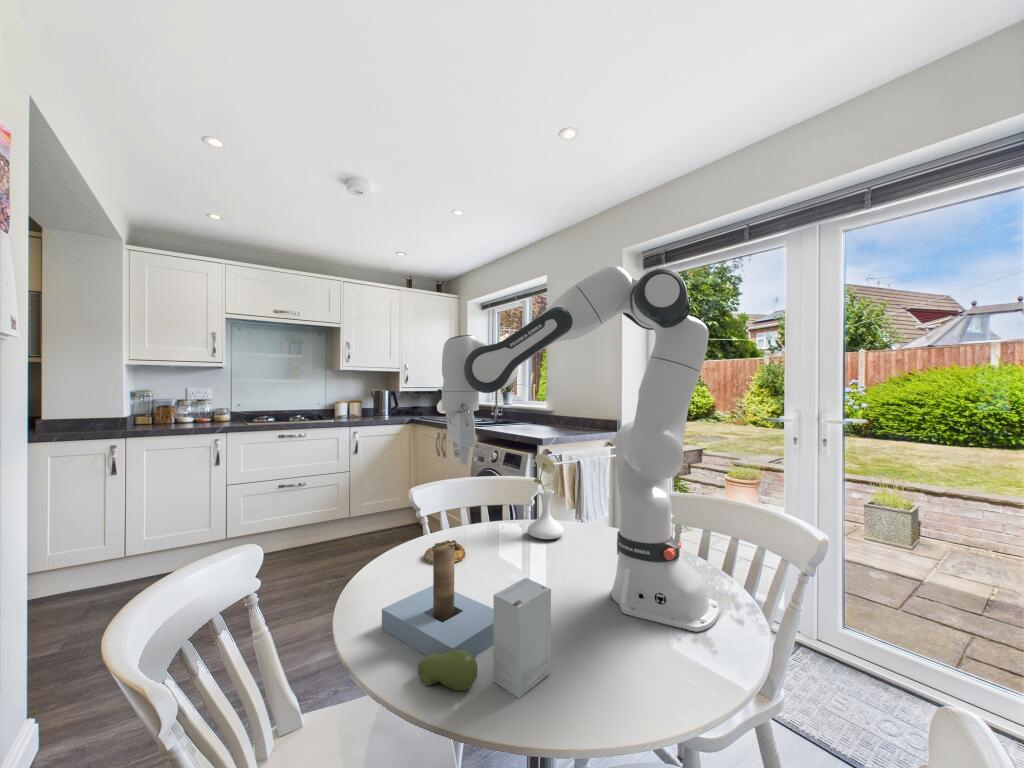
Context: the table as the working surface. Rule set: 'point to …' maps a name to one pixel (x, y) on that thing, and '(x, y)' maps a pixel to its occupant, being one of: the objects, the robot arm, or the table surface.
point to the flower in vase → (545, 505)
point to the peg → (443, 583)
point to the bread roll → (458, 549)
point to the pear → (449, 669)
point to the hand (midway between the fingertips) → (460, 460)
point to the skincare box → (522, 636)
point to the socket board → (440, 624)
